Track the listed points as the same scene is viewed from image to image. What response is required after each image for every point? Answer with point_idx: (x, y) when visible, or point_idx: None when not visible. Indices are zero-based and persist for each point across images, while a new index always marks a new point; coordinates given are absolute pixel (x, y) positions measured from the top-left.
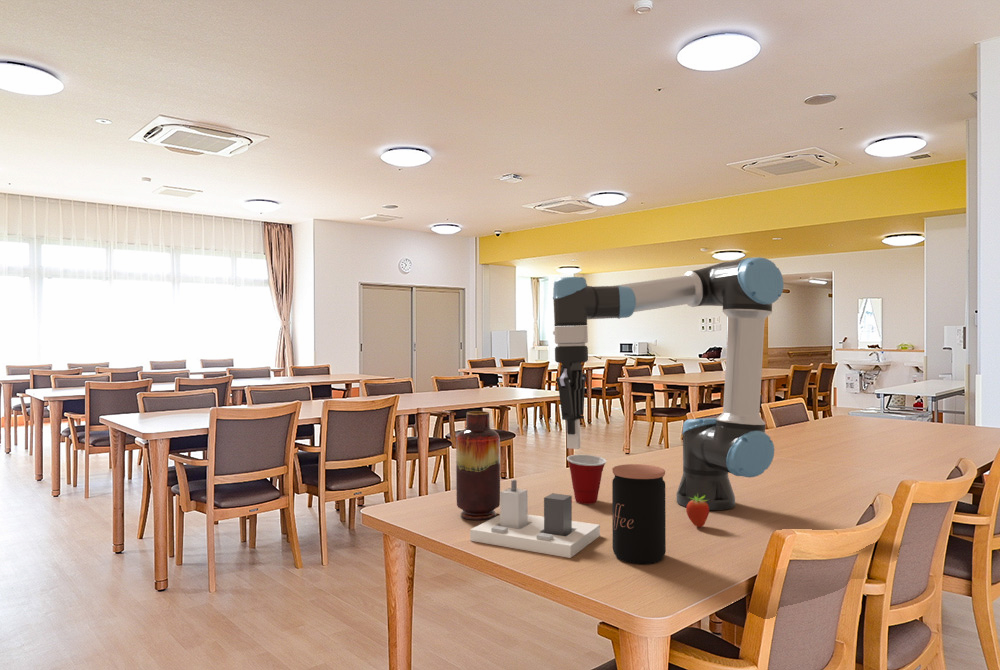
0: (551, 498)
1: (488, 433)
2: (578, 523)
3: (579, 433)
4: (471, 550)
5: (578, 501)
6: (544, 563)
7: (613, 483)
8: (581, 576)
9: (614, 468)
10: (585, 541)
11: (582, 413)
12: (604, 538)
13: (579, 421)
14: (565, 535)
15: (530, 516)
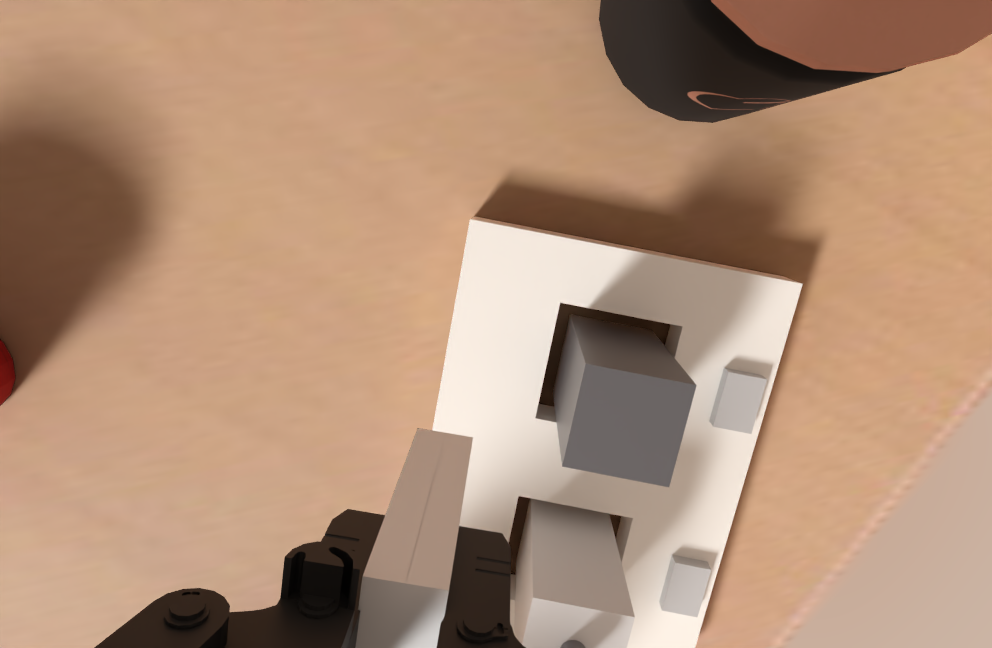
0: (677, 448)
1: None
2: (479, 313)
3: (414, 490)
4: (777, 620)
5: (6, 396)
6: (861, 354)
7: (905, 67)
8: (975, 198)
9: (910, 49)
10: (635, 249)
11: (207, 602)
12: (501, 191)
13: (377, 562)
14: (638, 334)
15: None
